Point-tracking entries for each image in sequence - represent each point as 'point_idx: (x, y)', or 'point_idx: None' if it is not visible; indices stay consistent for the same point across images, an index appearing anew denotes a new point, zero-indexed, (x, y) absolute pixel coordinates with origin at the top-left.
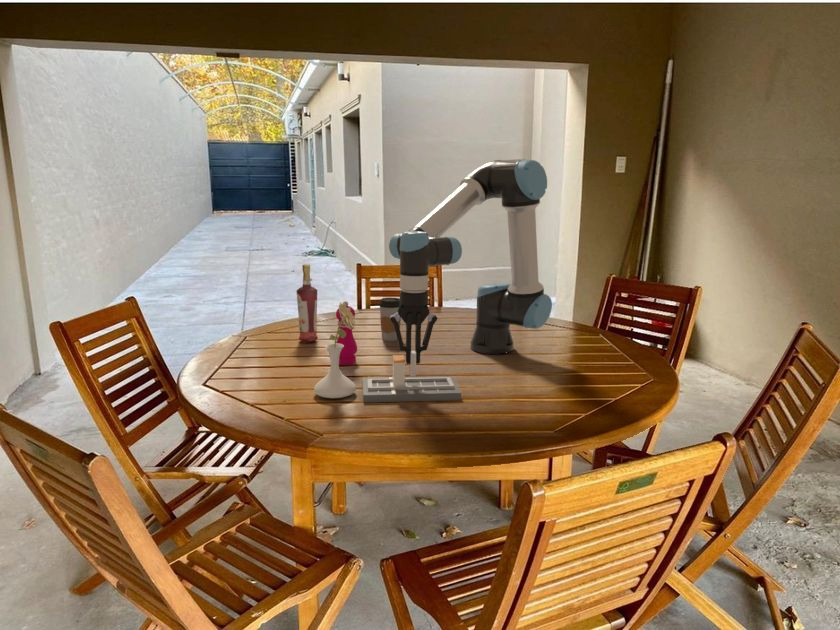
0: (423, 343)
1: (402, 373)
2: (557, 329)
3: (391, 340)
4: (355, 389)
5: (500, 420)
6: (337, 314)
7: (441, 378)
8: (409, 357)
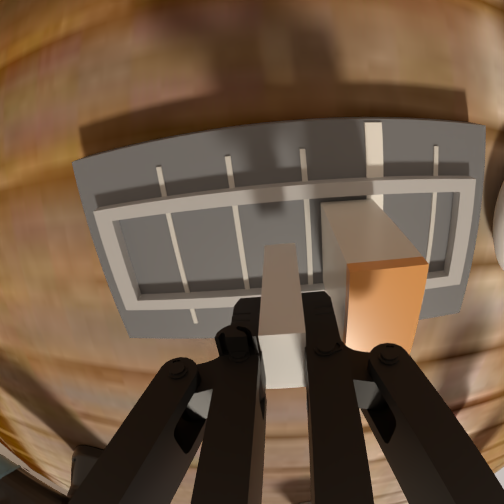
0: (194, 428)
1: (346, 229)
2: (60, 479)
3: (310, 502)
4: (500, 199)
5: (5, 21)
6: None
7: (155, 299)
8: (311, 321)
